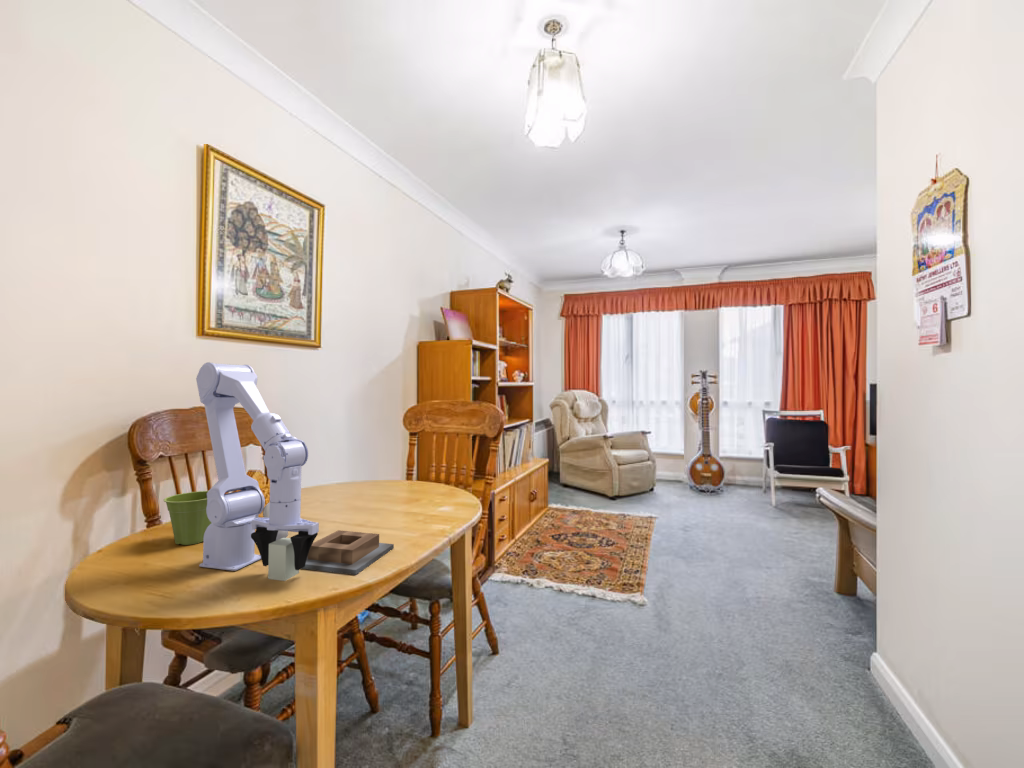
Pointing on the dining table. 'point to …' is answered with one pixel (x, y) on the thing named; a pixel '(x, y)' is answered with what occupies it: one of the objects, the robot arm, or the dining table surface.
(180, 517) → the plant pot
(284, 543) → the peg
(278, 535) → the tube
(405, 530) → the dining table surface
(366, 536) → the socket
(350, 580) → the dining table surface
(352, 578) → the dining table surface
